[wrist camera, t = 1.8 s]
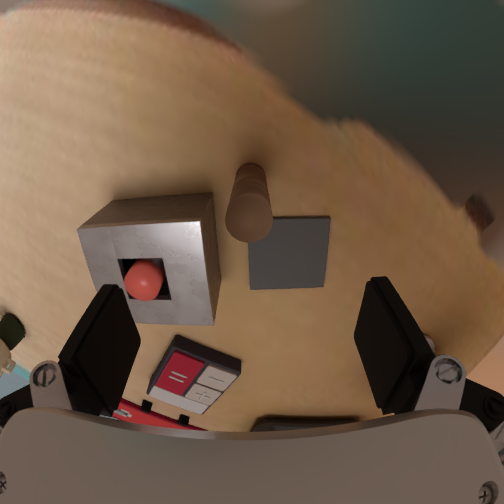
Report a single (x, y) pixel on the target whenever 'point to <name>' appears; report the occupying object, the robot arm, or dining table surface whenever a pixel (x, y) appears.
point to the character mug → (9, 341)
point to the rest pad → (290, 254)
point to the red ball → (145, 278)
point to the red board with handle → (150, 416)
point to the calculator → (192, 375)
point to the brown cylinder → (249, 205)
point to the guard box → (159, 254)
